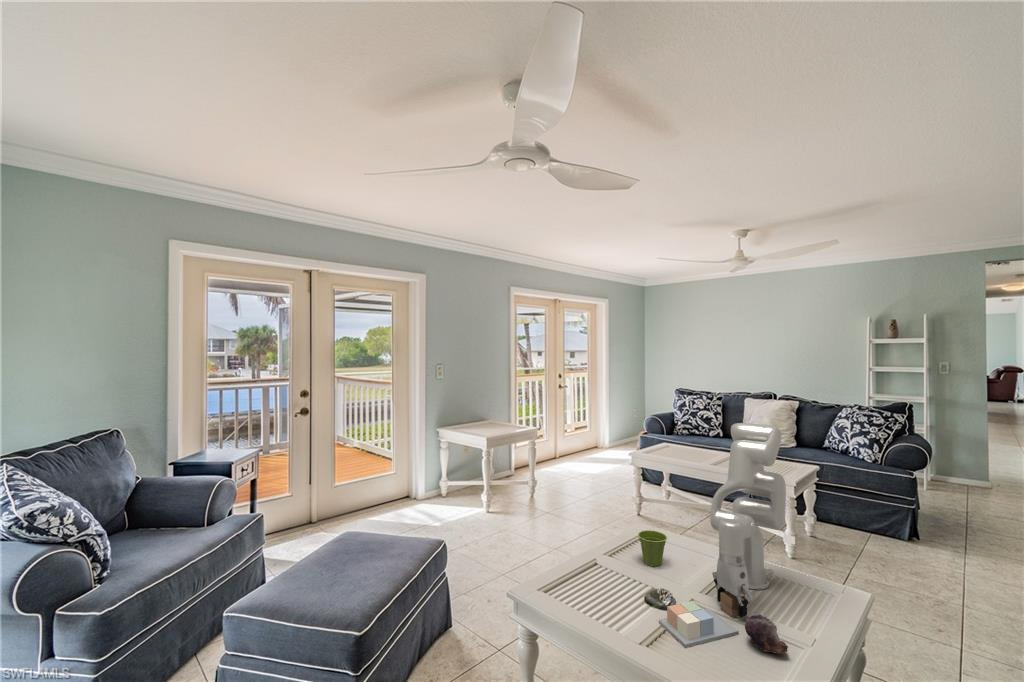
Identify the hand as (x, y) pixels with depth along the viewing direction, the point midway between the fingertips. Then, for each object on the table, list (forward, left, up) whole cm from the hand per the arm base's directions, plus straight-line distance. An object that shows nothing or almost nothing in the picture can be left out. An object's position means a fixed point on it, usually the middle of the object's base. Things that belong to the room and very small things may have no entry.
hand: (731, 608), depth 155 cm
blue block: (+17, +6, 0) cm, 19 cm away
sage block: (+17, +1, 0) cm, 18 cm away
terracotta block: (+22, +1, 0) cm, 23 cm away
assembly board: (+17, +3, -1) cm, 17 cm away
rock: (+4, +17, -2) cm, 18 cm away
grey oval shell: (+19, -14, -2) cm, 23 cm away
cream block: (+22, +6, 0) cm, 23 cm away
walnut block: (0, 0, -1) cm, 1 cm away
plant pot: (+4, -39, -2) cm, 39 cm away
